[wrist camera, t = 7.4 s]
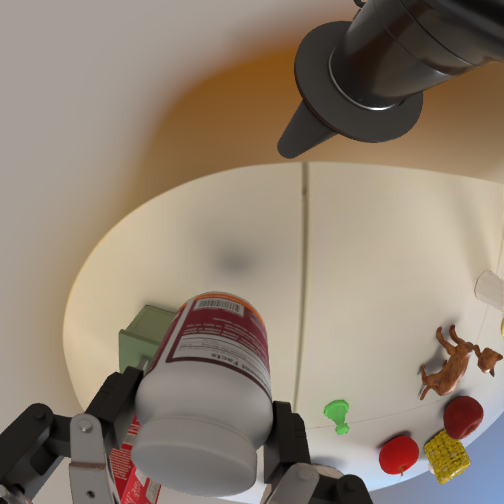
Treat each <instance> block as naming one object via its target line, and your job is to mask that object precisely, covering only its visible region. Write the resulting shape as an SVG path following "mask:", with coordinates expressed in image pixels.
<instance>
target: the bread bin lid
mask: <svg viewBox="0 0 504 504" xmlns="http://www.w3.org/2000/svg"><path fill="white" fill-rule="evenodd" d="M160 344H161V342H158V341H155V340H152V339H149V338H146V337H143V336H140V335H137V334H134V333H131V332H128V331H125V330H123V329H121V330H120V332H119V369H120V373H121V374H123V372H124V371H125V369H126V367H127V366H128V365H129V366H132V367H135V368H138V369H141V370H143V372H144V375H145V373H146V371H147V369H148V367H149V365H150V363H151V361H152V359H153V357H154V355H155V353H156V351H157V349H158V347H159V345H160Z"/></svg>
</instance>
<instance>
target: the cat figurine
mask: <svg viewBox="0 0 504 504" xmlns="http://www.w3.org/2000/svg"><path fill="white" fill-rule="evenodd" d="M441 330H442V327H440V328H438V330H437V339H438V341H439V342H440V343H441V344H442V345H443V346H444V347H445V348H446V350H447V353H448V354H449V355H451V357H450V358H449V360H448V362H447V360H445V361H444V362H443V365H442V366H443V369H442V370H441V371H440V372H439V373H436V374H430V375H428V376H426V373H425V370H424V368H425V365H423V366H422V368H421V374H422V381H423V384H424V385H428V386H427V387H426V388H425V389H424V391H423V393H422V395H421V397H420V400H423V398H424V397H425V395H426V393H427V391H428V390H429V389H433V390H435V391H436V393H437V394H438V395H440V396H444V395H447V394H449V393H450V392H452V391H453V390H454V389H455V388H456V386H457V384H458V383H459V381H460V380H461V378H462V377H463V375H464V373H465V371H466V369H467V365H468V360H469V357H470V354H471V352H472V351H473V350H474V351H475V354H476V356H477V357H478V367H479V368H480V369H481V370H482V372H484V373H486V372H490V374H491V375H492V376H493V377H494V366H495V364H496V362H497V361H499V360H501V359H503V356H502V355H501V354H499V353H497V352H495V351H493V350H491V349H489V348H485V349H484V350H483V352H482V353H481V352H480V349H479V346H478V345H474V346H473V344H472V343H471V342H465V341H464V340H463V339H461V338H458V337H457V335H456V332H455V325H452V326H451V327H450V337H451V339H452V340H453V341H454V342H455V343H457V344H458V345H457V346H456V347H454V346H452V345H451V344H450V343H449V342H447V341H445V340H444V338H443V336H442V333H441Z"/></svg>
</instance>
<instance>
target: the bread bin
mask: <svg viewBox="0 0 504 504" xmlns="http://www.w3.org/2000/svg"><path fill="white" fill-rule="evenodd" d="M175 315H176V314H174V313H171V312H167V311H164V310H160V309H157V308H154V307H151V306H147V305H145V306H144V308H143V309H142V310H141V311H140V312H139V314H138V315H137V316H136V317H135V319H134V320H133V321H132V322H131V324H130V325H129V326H128V327H127V329H126V330H125V331H128V332H131V333H134V334H137V335H140V336H143V337H146V338H149V339H152V340H155V341H158V342H162V340H163V338H164V336H165V334H166V332H167V330H168V328H169V326H170V325H171V323H172V321H173V319H174V317H175Z"/></svg>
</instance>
